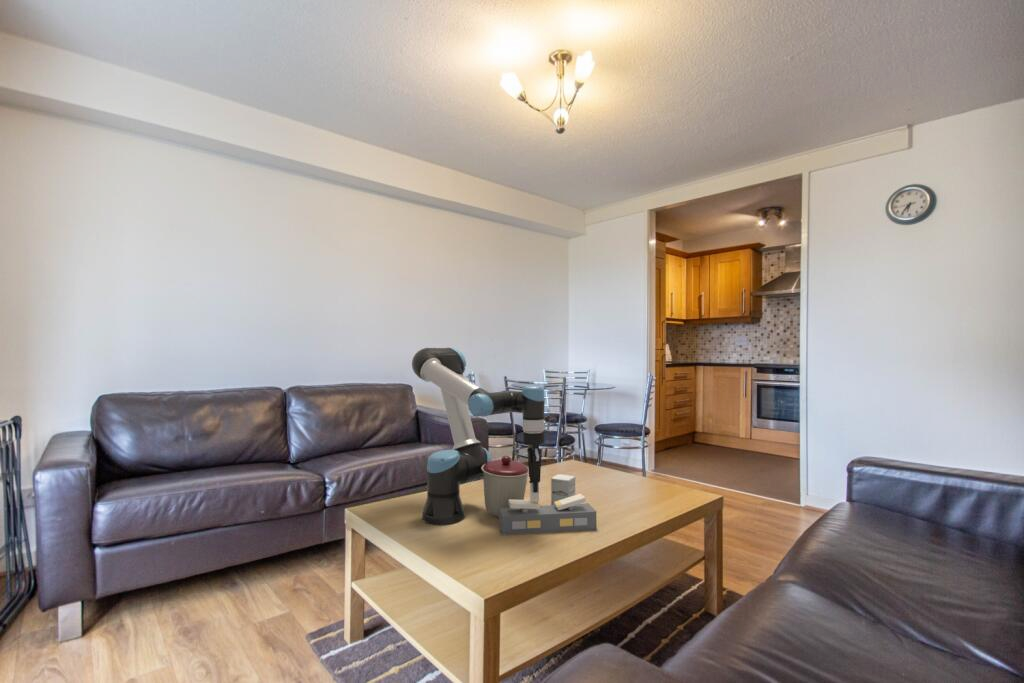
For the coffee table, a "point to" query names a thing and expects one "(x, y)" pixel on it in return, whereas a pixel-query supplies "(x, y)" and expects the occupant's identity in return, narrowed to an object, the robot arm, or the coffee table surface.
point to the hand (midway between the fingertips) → (534, 500)
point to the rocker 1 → (523, 504)
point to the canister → (503, 483)
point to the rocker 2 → (569, 501)
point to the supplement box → (562, 487)
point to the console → (547, 519)
